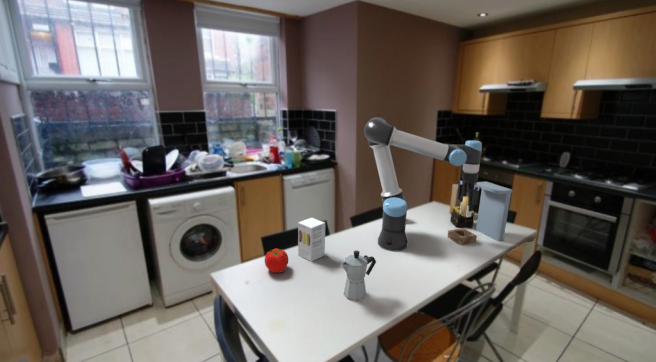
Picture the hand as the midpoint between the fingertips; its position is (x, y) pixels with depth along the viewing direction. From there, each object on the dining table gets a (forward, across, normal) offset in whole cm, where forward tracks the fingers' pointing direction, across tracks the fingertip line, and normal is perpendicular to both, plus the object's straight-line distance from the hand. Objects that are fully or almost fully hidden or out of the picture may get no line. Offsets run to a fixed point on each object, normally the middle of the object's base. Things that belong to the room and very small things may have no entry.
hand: (465, 215), depth 166 cm
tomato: (+14, +1, +99) cm, 100 cm away
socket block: (+14, 0, 0) cm, 14 cm away
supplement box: (+14, +9, +81) cm, 83 cm away
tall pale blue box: (+14, 0, -16) cm, 21 cm away
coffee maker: (+14, -26, +73) cm, 79 cm away
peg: (0, 0, 0) cm, 0 cm away
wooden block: (+14, +29, -24) cm, 40 cm away
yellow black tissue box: (+15, +17, -15) cm, 27 cm away
